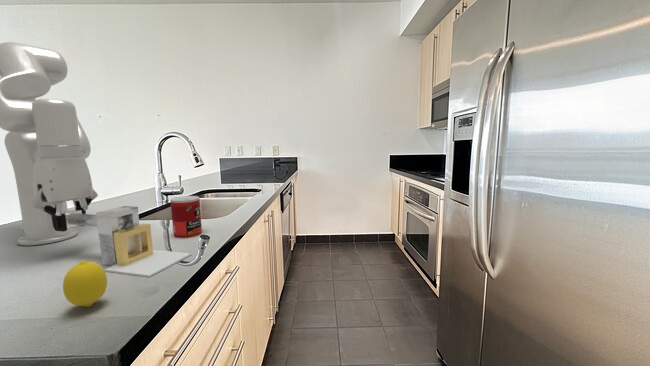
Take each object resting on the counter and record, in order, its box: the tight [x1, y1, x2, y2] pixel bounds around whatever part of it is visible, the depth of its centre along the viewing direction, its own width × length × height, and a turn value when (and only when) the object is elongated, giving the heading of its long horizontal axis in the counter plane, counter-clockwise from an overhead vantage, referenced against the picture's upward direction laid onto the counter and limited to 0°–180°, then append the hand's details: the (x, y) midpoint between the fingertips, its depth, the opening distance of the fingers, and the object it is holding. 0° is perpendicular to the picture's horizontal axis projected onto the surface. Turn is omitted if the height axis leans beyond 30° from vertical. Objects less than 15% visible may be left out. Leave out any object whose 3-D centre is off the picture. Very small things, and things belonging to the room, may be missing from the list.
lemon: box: [62, 260, 108, 308], centre depth 47 cm, size 6×6×8 cm
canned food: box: [170, 195, 203, 239], centre depth 85 cm, size 8×8×11 cm
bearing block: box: [95, 205, 142, 267], centre depth 66 cm, size 4×7×12 cm, turn 165°
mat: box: [103, 249, 192, 278], centre depth 65 cm, size 12×12×1 cm
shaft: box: [62, 209, 128, 229], centre depth 68 cm, size 18×4×4 cm, turn 75°
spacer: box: [114, 223, 154, 266], centre depth 66 cm, size 2×7×7 cm, turn 163°
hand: (71, 227), depth 70 cm, fingers closed on shaft, 3 cm apart
